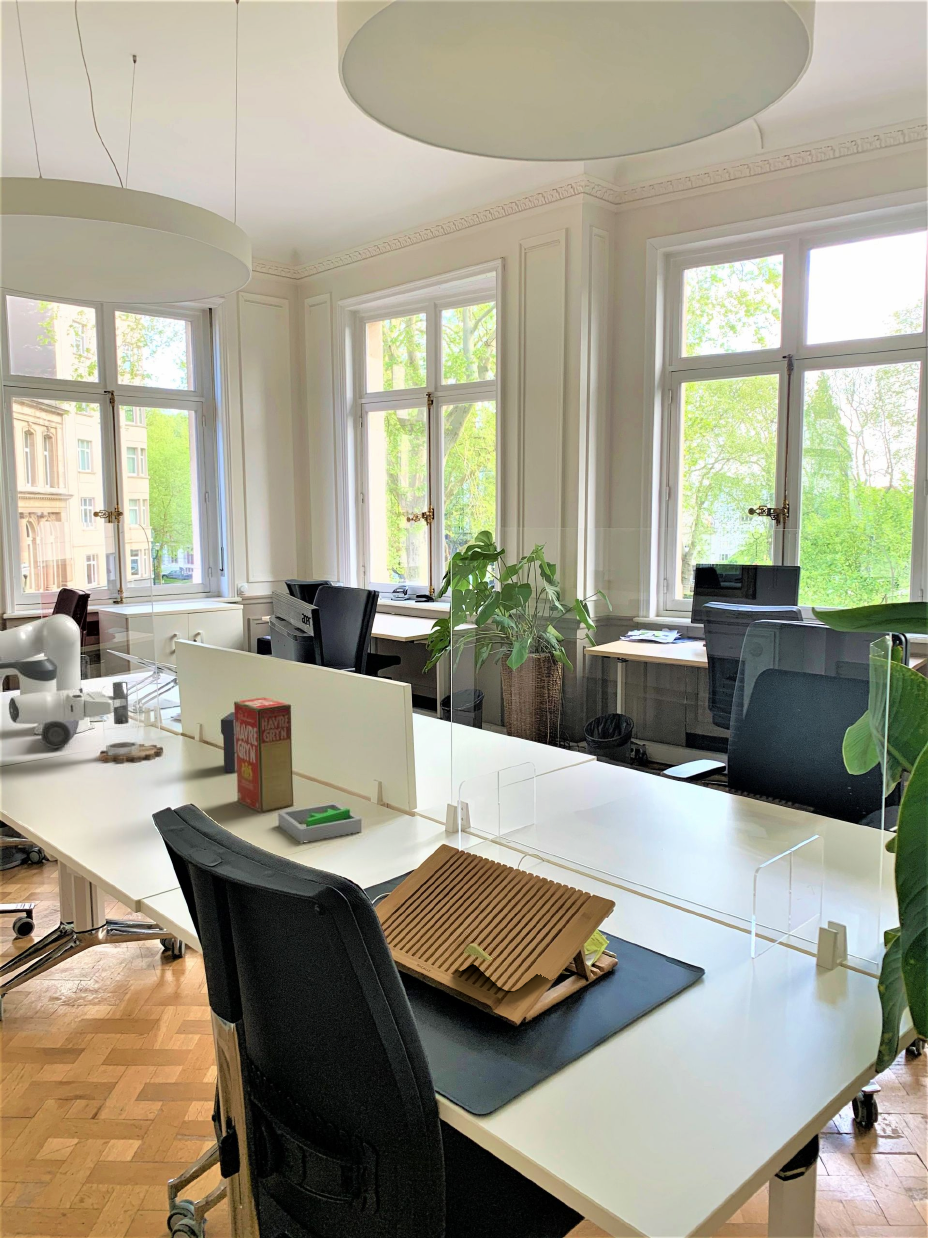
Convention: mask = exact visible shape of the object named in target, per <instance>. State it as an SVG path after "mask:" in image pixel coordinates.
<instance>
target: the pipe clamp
mask: <svg viewBox="0 0 928 1238" xmlns="http://www.w3.org/2000/svg"><path fill="white" fill-rule="evenodd" d="M350 812H351V809H350V808H345V809H342V810H339V811H334V810H331V809H326V813H322V814H314V813H311V814H310V818H309V819H306V822H305V827H309V826H314V825H320V824H326V823H331V822H337V821H343V819H344V820H348V819H350Z"/></svg>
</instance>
